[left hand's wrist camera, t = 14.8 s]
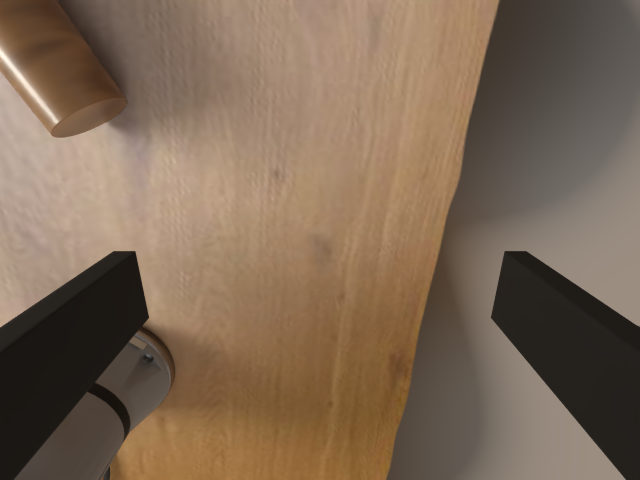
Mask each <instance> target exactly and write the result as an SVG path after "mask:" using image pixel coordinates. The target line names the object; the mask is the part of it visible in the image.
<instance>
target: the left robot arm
mask: <svg viewBox="0 0 640 480" xmlns="http://www.w3.org/2000/svg"><path fill="white" fill-rule="evenodd" d="M148 318H149V315H148V311H147V306H146V301H145V296H144V291H143V286H142V281H141V276H140V272H139V267H138V262H137V257H136V252H135V251H113V252H112V253H110V254H109V255H107V256H106V257H104V258H103V259H102V260H100V261H99V262H97V263H96V264H94V265H93V266H91V267H90V268H88V269H87V270H85V271H84V272H82V273H81V274H79V275H78V276H76V277H75V278H73V279H72V280H70V281H69V282H67V283H66V284H64V285H63V286H61V287H60V288H58V289H57V290H55V291H54V292H52V293H51V294H49V295H48V296H46V297H45V298H44V299H42V300H41V301H39V302H38V303H36V304H35V305H33V306H32V307H30V308H29V309H27V310H26V311H24V312H23V313H21V314H20V315H18V316H17V317H15V318H14V319H12V320H11V321H9V322H8V323H6V324H5V325H3V326H2V327H0V480H101V479H102V478H103V476H104V480H110V464H111V462H112V461H113V459H114V457H115V456H116V454H117V452H118V451H119V449H120V447H121V445H122V444H123V442H124V440H125V439H126V437H127V435H128V434H129V432H130V431H131V430H132V429H134V428H135V427H136V426H137V425H138V424H139V423H140V422H141V421H142V420H144V419H145V418H146V417H147V416H148V415H149V414H150V413H151V412H152V411H153V410H155V409H156V408H157V407H158V406H159V405H160V404H161V403H162V402H163V401H164V399H165V398H166V396H167V394H168V392H169V390H170V388H171V386H172V384H173V381H174V377H175V368H174V363H173V360H172V357H171V355H170V353H169V352H168V350H167V349H166V347H165V346H164V345H163V343H162V342H161V341H160V340H159V339H157V338H156V337H155V336H154V335H153V334H151V333H150V332H148V331H147V330H145V329H143V328H141V327H142V325H143V324H144V323H145V322H146V321H147V319H148ZM491 318H492V319H493V321H494V322H495V323H496V324H497V325H498V327H499V328H500V329H501V330H502V331H503V333H504V334H505V335H506V336H507V337H508V339H509V340H510V341H511V342H512V343H513V345H514V346H515V347H516V348H517V349H518V351H519V352H520V353H521V354H522V355H523V357H524V358H525V359H526V360H527V361H528V363H529V364H530V365H531V366H532V367H533V369H534V370H535V371H536V372H537V373H538V375H539V376H540V377H541V378H542V379H543V381H544V382H545V383H546V384H547V385H548V387H549V388H550V389H551V390H552V391H553V393H554V394H555V395H556V396H557V397H558V399H559V400H560V401H561V402H562V403H563V405H564V406H565V407H566V408H567V409H568V411H569V412H570V413H571V414H572V415H573V417H574V418H575V419H576V420H577V421H578V423H579V424H580V425H581V426H582V427H583V429H584V430H585V431H586V432H587V433H588V435H589V436H590V437H591V438H592V439H593V441H594V442H595V443H596V444H597V445H598V447H599V448H600V449H601V450H602V451H603V453H604V454H605V455H606V456H607V457H608V459H609V460H610V461H611V462H612V463H613V465H614V466H615V467H616V468H617V469H618V471H619V472H620V473H621V474H622V475H623V477H624V478H625V479H626V480H640V327H639V326H637V325H635V324H634V323H632V322H631V321H629V320H628V319H626V318H625V317H623V316H622V315H620V314H619V313H617V312H616V311H614V310H613V309H611V308H610V307H608V306H607V305H605V304H604V303H602V302H601V301H599V300H598V299H596V298H595V297H594V296H592V295H590V294H589V293H588V292H586V291H585V290H583V289H582V288H580V287H579V286H577V285H576V284H574V283H573V282H571V281H570V280H568V279H567V278H565V277H564V276H562V275H561V274H559V273H558V272H556V271H555V270H553V269H552V268H550V267H549V266H547V265H546V264H544V263H543V262H541V261H540V260H538V259H537V258H535V257H534V256H533V255H531V254H530V253H528V252H527V251H505V252H504V257H503V262H502V267H501V272H500V277H499V281H498V286H497V291H496V296H495V301H494V306H493V311H492V315H491Z"/></svg>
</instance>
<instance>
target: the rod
mask: <svg viewBox="0 0 640 480" xmlns="http://www.w3.org/2000/svg"><path fill="white" fill-rule="evenodd" d="M0 71H1V73H2V74H3V75H4V76H5V78H6V79H7V80H8V81H9V83H10V84H11V85H12V86H13V88H14V89H15V90H16V91H17V93H18V94H19V95H20V96H21V98H22V99H23V100H24V101H25V103H26V104H27V105H28V106H29V107H30V109H31V110H32V111H33V112H34V114H35V115H36V116H37V117H38V119H39V120H40V121H41V122H42V124H43V125H44V126H45V127H46V129H47V130H48V131H49V132H50V134H51V135H52V136H54V137H57V138H62V137H69V136H73V135H77V134H80V133H83V132H86V131H88V130H91V129H93V128H95V127H97V126H99V125H101V124H103V123H105V122H107V121H109V120H110V119H112V118H113V117H115V116H116V115H117V114H119V113H120V112H121V111H122V110H123V109H124V108H125V106H126V105H127V100H126V98H125V97H124V95H123V94H122V92H121V91H120V90H119V88H118V87H117V85H116V84H115V82H114V81H113V80H112V78H111V77H110V75H109V74H108V72H107V71H106V70H105V68H104V67H103V65H102V64H101V62H100V61H99V60H98V58H97V57H96V55H95V54H94V53H93V51H92V50H91V48H90V47H89V45H88V44H87V43H86V41H85V40H84V38H83V37H82V35H81V34H80V33H79V31H78V30H77V28H76V27H75V25H74V24H73V23H72V21H71V20H70V18H69V17H68V16H67V14H66V13H65V11H64V10H63V8H62V7H61V6H60V4H59V3H58V1H57V0H0Z"/></svg>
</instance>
